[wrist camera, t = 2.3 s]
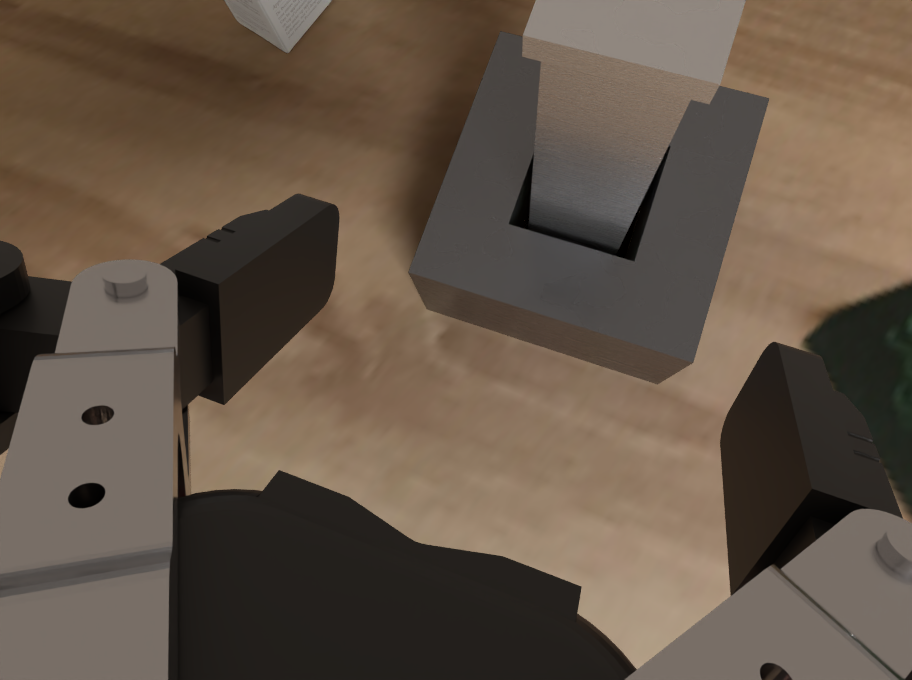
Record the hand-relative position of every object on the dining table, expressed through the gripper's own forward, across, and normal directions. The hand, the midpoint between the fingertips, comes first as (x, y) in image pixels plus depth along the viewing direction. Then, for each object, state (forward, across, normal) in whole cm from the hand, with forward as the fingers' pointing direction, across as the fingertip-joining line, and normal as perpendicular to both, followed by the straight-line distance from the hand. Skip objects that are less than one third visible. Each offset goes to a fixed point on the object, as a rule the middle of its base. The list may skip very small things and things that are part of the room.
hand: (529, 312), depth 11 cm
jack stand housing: (+20, 0, +7) cm, 22 cm away
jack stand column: (+20, 0, +7) cm, 22 cm away
